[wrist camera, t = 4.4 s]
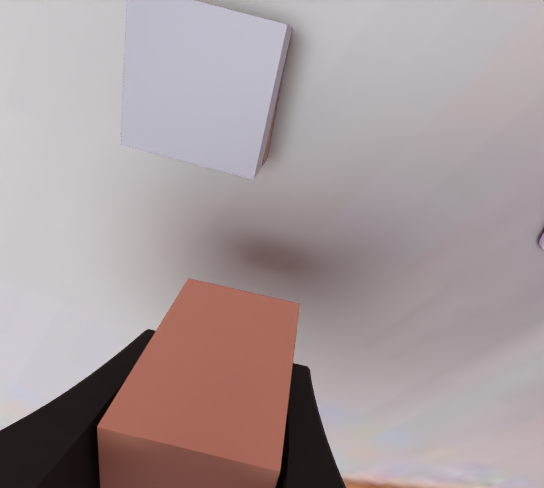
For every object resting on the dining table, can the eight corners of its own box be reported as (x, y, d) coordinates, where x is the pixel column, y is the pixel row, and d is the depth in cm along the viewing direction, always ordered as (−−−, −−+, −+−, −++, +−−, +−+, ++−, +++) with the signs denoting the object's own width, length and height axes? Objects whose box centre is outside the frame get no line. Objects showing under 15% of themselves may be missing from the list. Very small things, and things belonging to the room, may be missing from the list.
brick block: (299, 303, 13) (280, 471, 8) (278, 383, 15) (251, 563, 10) (188, 278, 13) (96, 427, 8) (180, 360, 15) (102, 525, 10)
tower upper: (292, 28, 14) (287, 24, 13) (261, 166, 17) (253, 180, 15) (152, -9, 15) (127, -18, 13) (142, 134, 17) (120, 144, 15)
